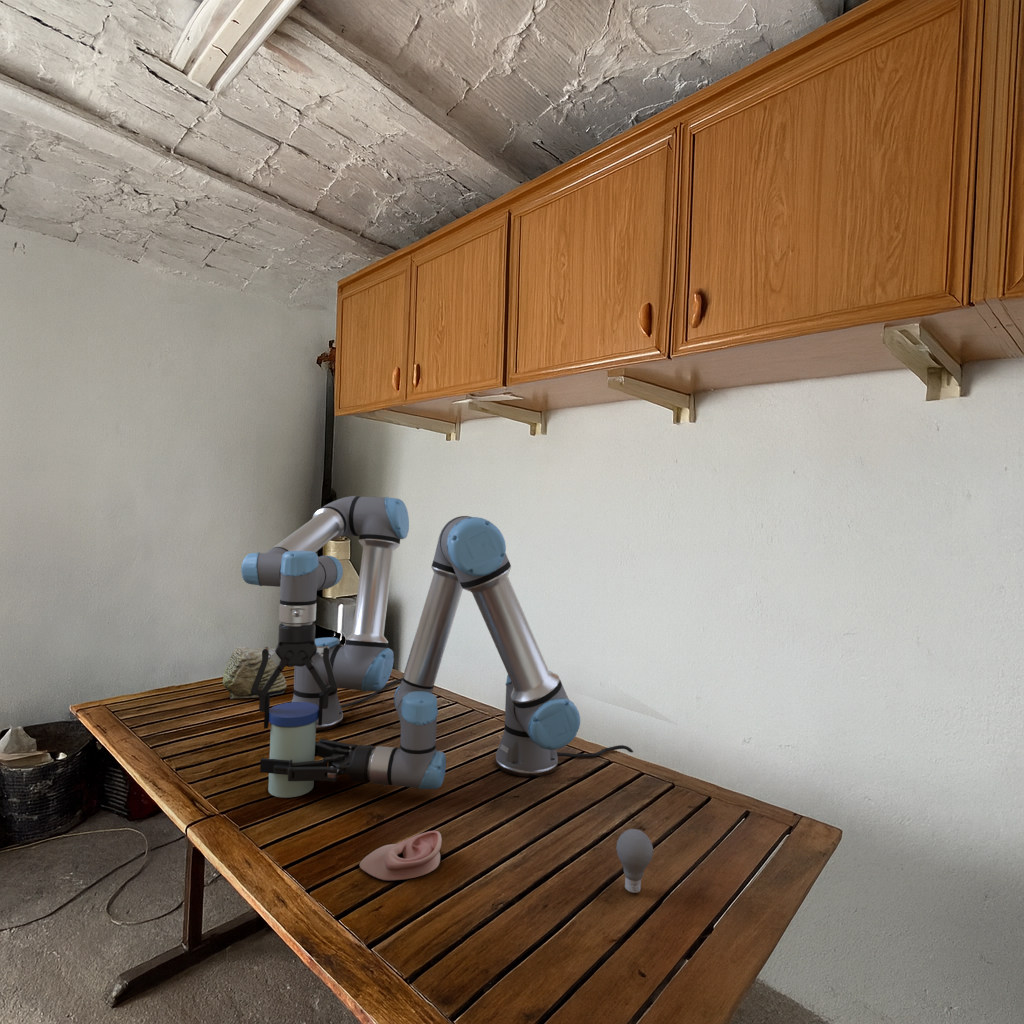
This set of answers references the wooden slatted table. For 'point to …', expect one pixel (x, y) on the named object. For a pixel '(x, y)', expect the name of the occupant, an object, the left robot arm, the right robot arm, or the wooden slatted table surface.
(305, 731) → the jar
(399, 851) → the anatomical model
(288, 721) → the lid
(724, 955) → the wooden slatted table surface
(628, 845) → the light bulb
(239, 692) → the fossil
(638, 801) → the wooden slatted table surface
